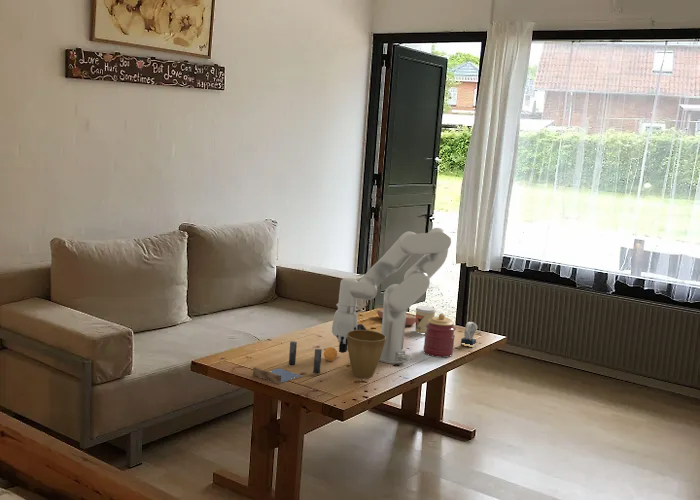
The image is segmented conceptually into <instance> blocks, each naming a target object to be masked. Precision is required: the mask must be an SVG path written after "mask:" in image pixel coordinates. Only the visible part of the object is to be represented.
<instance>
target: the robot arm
mask: <svg viewBox="0 0 700 500" xmlns="http://www.w3.org/2000/svg"><path fill="white" fill-rule="evenodd" d="M451 244H452V238H451V236H450V234H449V232H447V231H446V230H445V229H443V228H440V227H434V228H432V229H430V231H429V232H423V233H416V232H413V231H411V230H410V231H409V230H408V231H406V232H403V233H402V234H401V235H400V236H399V237H398V239H397V240H396V241H395V242H394V243H393V244H392V245H391V247H390V248H389V249H388V250H387V251H386V252H385V253H384V254H383V256H381V258H380V259H378V260H377V262H376V263H374V264H373V265H372V266H371V267H370V268H369V270H367V272H366V273H365V274H364V275H363V276H362V277H361V279H359V281H358V280H357V279H355V278H349V277H347V278H342V279H341V280H340V284H339V293H338V303H336V307H337V309H336V310H335V312H334V315H333V318H332V324H331V333H332V334H333V336H335V337H336V338H337V340H338V343H339V345H338V352H339V353H342V354H343V353H347V351H348V343H347V333H348V332H349V331H353V330H357V325H358V314H357V304H358V299H360V300H361V299H362V300H365V301H371V300H373V299H375V298H376V297H377V294H378V287H379V286H380V285H381V284H382V282H383V281H384V280H386V278H388V277H390V276H391V275H392V274H395V273H396V272H398V271H400V269H401V268H402V267H403V266H404V264H406V262H407V261H408V260H409V259H410V258H411V256H421V255H422V256H421V257H420V258H419V259H418V260H417V261H416V262H415V263H414V264H413V265H411V266H410V267H409V268H408V269H407V270H406V271H405V273H404V276H403V280H402V281H401V283H393V284H390V285H389V286H388V287H387V288H386V289H385V290H384V293H383V307H382V308H383V319H382V322H381V332H380V333H381V334H383V335H385V336H386V340H385V344H384V348H383V351H382V354H381V357H380V360H379V362H381V363H385V364H392V365H394V364H395V365H396V364H397V365H398V364H403V363H405V362H409V360H410V357H411V356H410V355H409V354H406V350H405V349H404V341H405V332H406V331H405V330H406V325H405V323H406V313H407V310H408V309H409V308H411V307H412V305H414V304H415V303H416V302H417V301H418V300H419V299H421V297H422V296H423V295H424V294H425V293H426V292H427V290H428V289H429V286H430V282H431V280H430V279H432V277H433V276H434V275H435V274H436V273H437V271H439V270H440V269H441V267H442V266H443V265H444V263H445V262H446V260H447V258H448V253H449V248H450V246H451Z"/></svg>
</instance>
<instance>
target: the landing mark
mask: <svg viewBox="0 0 700 500" xmlns="http://www.w3.org/2000/svg"><path fill="white" fill-rule="evenodd" d="M270 371H272V372H271V373H274V374H277V375H280V376H281V384H282V382H283V383H286V382H288V380H289V381H292V380H291V378H292V379H293V380H295V379H294V377H295V378H296V379H298V377H299V378H302V377H301V376H302V375H301V374H298V373H294V372H292V371H288V370H287V369H286V370H285V369H283V368H280V367H279V368H275V369H271V370H270Z"/></svg>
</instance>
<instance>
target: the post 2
mask: <svg viewBox="0 0 700 500" xmlns="http://www.w3.org/2000/svg"><path fill="white" fill-rule="evenodd" d="M322 352H323V351H322V349H321V348H314V354H313V356H314V357H313V358H314V359H313V371H312V373H314V374H320V373H321V365H322V364H321V363H322Z"/></svg>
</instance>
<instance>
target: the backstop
mask: <svg viewBox="0 0 700 500" xmlns="http://www.w3.org/2000/svg"><path fill="white" fill-rule="evenodd" d="M268 371H269V370H264V369H263V368H262V369H261V368H259V367H257V366H254V367H253V369H252V376H253V375H255V376H254V377H256V376H258V377H257V378H259V377H261V378H260V379H262V378H263V379H262V380H265V379H266V380H265V381H267V380H269V381H268V382H270V381H271V383H273V382H274V384H276V385H281V384H282V383H281V376H280V375H277V374H274V373H271V372H268Z"/></svg>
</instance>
